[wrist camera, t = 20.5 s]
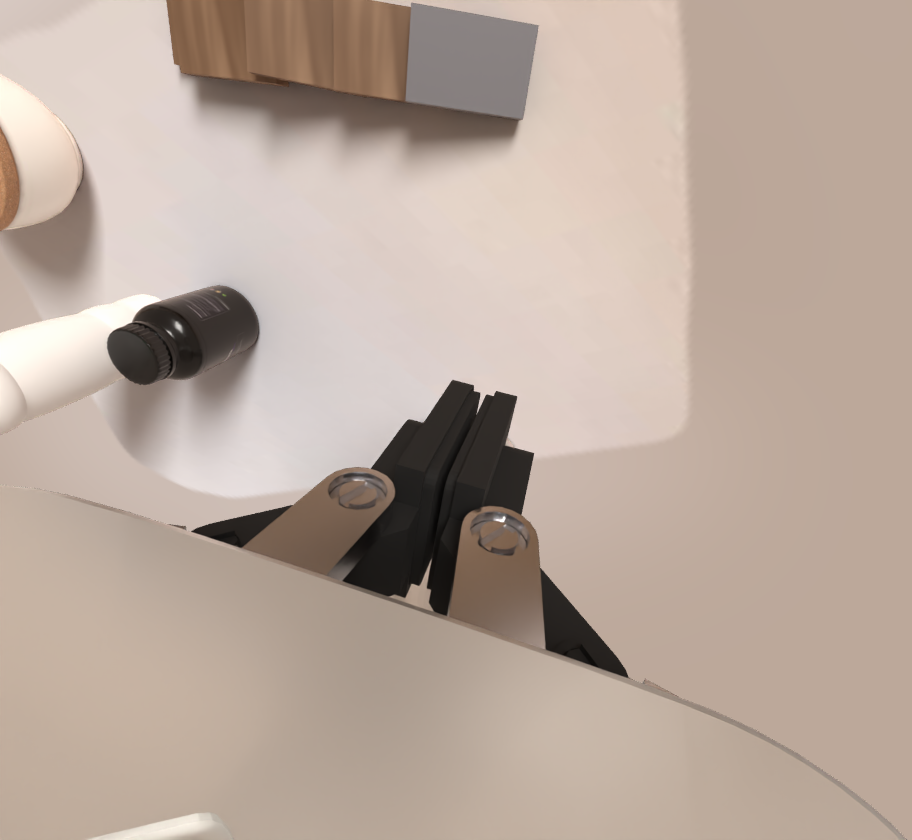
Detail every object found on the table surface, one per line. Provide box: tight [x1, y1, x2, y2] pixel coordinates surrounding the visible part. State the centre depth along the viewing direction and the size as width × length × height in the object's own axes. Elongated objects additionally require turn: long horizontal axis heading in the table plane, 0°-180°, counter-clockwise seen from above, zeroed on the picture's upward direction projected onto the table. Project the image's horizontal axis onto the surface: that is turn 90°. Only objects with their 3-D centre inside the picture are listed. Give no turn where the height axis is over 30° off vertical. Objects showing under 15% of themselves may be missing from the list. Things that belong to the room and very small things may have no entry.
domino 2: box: [244, 0, 365, 97], centre depth 32 cm, size 2×5×8 cm
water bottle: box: [0, 294, 162, 435], centre depth 39 cm, size 7×7×25 cm
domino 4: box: [405, 3, 539, 120], centre depth 31 cm, size 2×5×8 cm
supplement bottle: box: [107, 285, 259, 385], centre depth 42 cm, size 7×7×12 cm
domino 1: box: [170, 0, 289, 87], centre depth 34 cm, size 2×5×8 cm
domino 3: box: [333, 0, 444, 109], centre depth 32 cm, size 2×5×8 cm
